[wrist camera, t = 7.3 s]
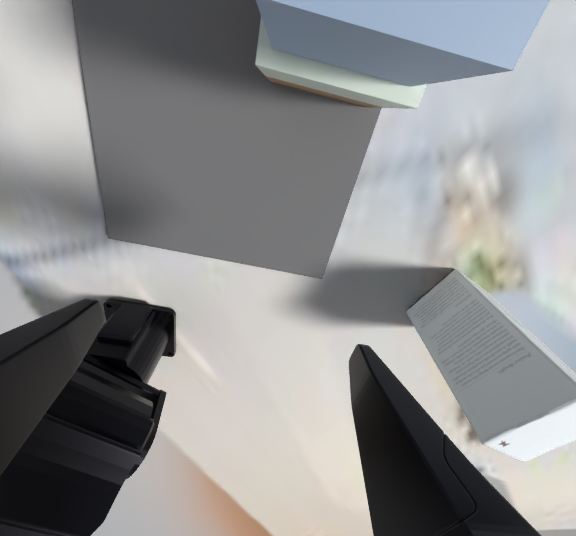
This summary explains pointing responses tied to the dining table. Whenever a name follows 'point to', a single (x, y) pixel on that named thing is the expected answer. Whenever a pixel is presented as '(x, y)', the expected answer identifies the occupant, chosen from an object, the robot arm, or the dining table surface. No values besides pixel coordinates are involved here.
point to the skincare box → (497, 369)
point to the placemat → (213, 136)
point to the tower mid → (333, 78)
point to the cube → (405, 35)
